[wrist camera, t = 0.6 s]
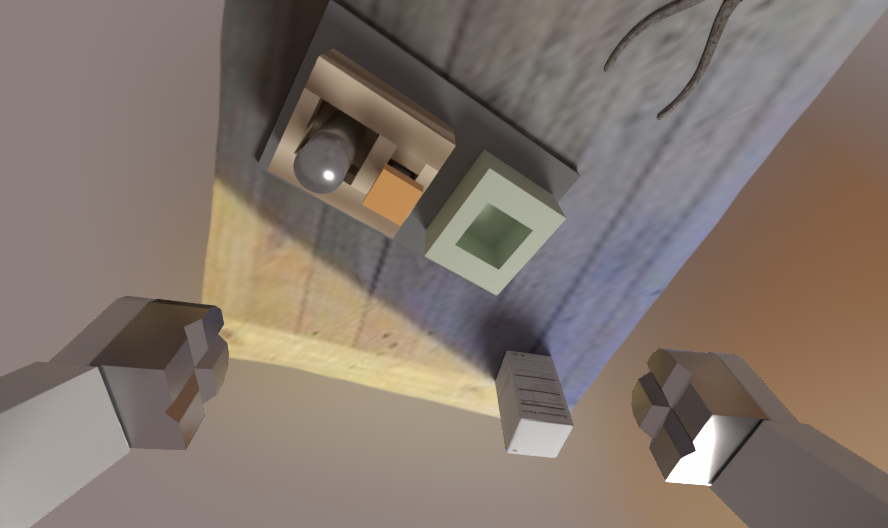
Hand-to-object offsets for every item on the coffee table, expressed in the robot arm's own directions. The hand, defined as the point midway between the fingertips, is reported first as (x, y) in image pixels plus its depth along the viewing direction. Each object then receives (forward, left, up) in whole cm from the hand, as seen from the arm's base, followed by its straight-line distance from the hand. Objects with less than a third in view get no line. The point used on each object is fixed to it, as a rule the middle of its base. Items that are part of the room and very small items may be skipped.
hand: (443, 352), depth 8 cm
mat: (+11, +4, -41) cm, 42 cm away
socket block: (+11, -2, -40) cm, 41 cm away
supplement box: (+30, +35, -41) cm, 61 cm away
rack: (+11, +14, -40) cm, 43 cm away
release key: (+11, +2, -35) cm, 36 cm away
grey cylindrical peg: (+11, -5, -39) cm, 41 cm away
